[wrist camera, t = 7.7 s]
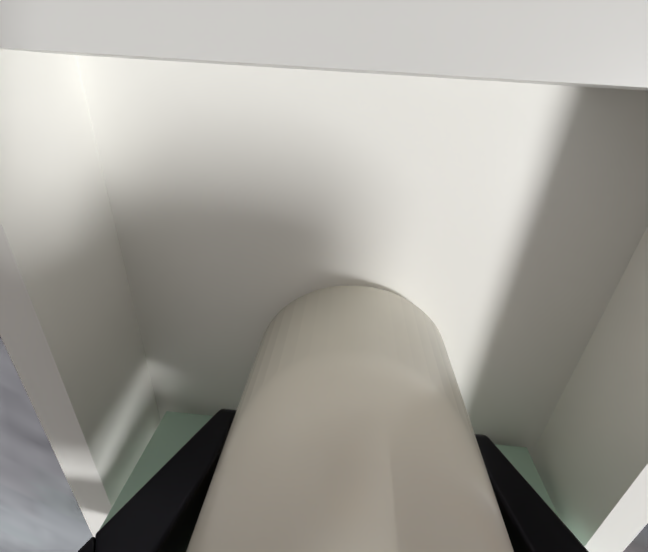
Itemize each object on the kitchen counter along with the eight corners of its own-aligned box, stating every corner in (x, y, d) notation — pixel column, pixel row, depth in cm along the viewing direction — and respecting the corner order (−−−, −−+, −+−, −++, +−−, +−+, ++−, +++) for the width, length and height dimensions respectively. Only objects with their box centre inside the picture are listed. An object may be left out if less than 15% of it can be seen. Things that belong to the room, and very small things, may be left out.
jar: (430, 440, 12) (579, 1156, 4) (257, 422, 12) (75, 1067, 4) (474, 290, 9) (1218, 1618, 1) (250, 271, 10) (-304, 1299, 2)
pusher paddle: (499, 502, 13) (563, 690, 9) (178, 468, 14) (104, 633, 10) (526, 447, 12) (617, 642, 8) (166, 411, 12) (72, 576, 8)
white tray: (477, 567, 18) (527, 767, 13) (180, 533, 19) (112, 712, 13) (749, 42, 8) (1653, -41, 2) (50, 2, 8) (-506, -135, 3)
